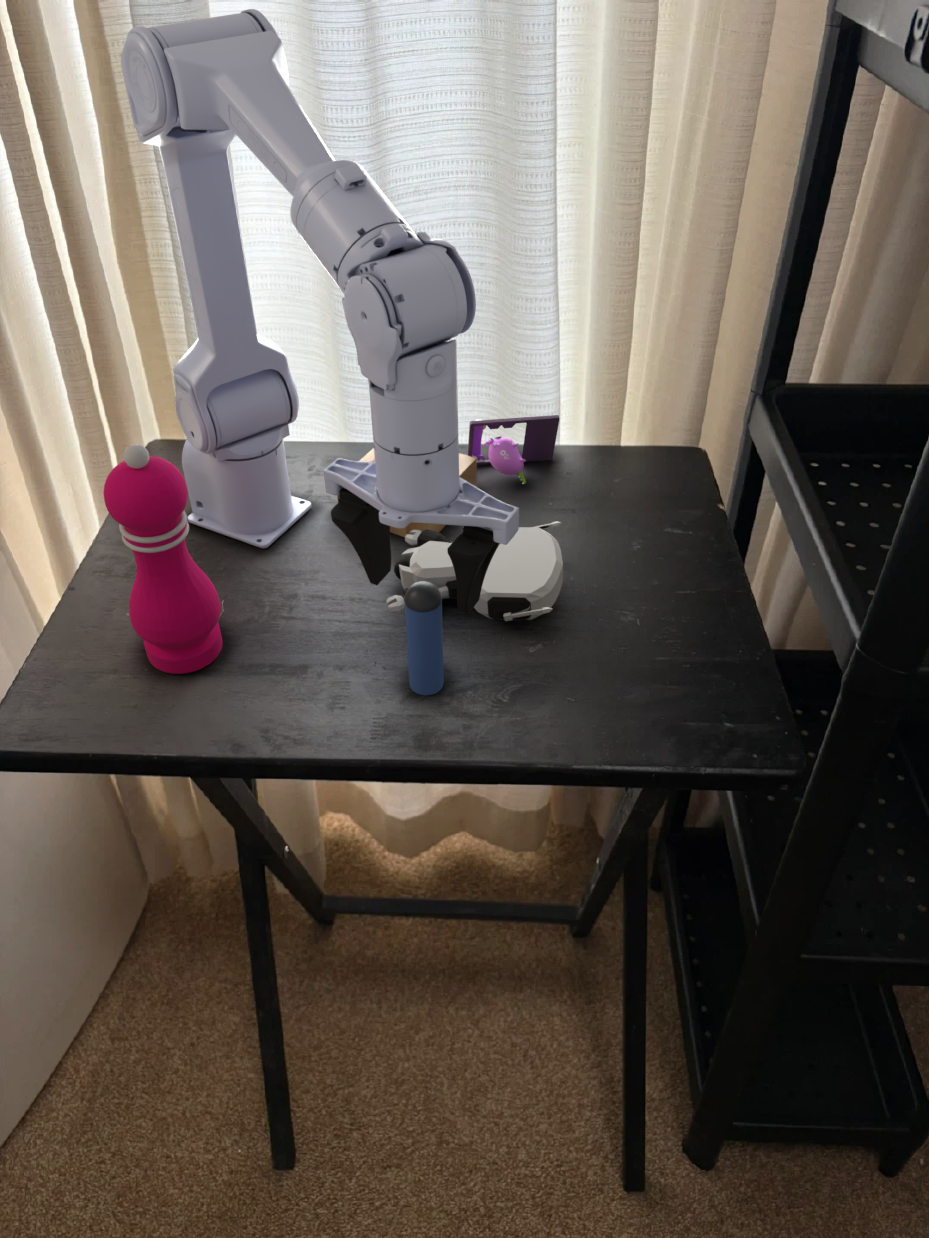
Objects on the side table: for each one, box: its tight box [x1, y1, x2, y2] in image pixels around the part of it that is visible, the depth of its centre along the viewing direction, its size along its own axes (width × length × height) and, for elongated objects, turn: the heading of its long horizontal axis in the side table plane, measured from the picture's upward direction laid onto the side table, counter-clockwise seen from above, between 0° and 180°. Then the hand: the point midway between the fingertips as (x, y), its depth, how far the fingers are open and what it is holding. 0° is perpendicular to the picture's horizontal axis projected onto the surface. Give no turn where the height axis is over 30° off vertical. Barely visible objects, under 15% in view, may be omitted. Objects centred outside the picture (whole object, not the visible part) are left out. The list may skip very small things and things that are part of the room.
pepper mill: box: [103, 443, 224, 675], centre depth 80 cm, size 7×7×20 cm
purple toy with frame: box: [467, 414, 560, 485], centre depth 104 cm, size 7×5×9 cm
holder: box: [336, 447, 478, 538], centre depth 101 cm, size 10×10×4 cm
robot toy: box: [385, 520, 564, 622], centre depth 91 cm, size 12×4×15 cm
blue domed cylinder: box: [404, 581, 445, 696], centre depth 80 cm, size 3×3×10 cm
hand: (424, 591), depth 78 cm, fingers open, 7 cm apart
